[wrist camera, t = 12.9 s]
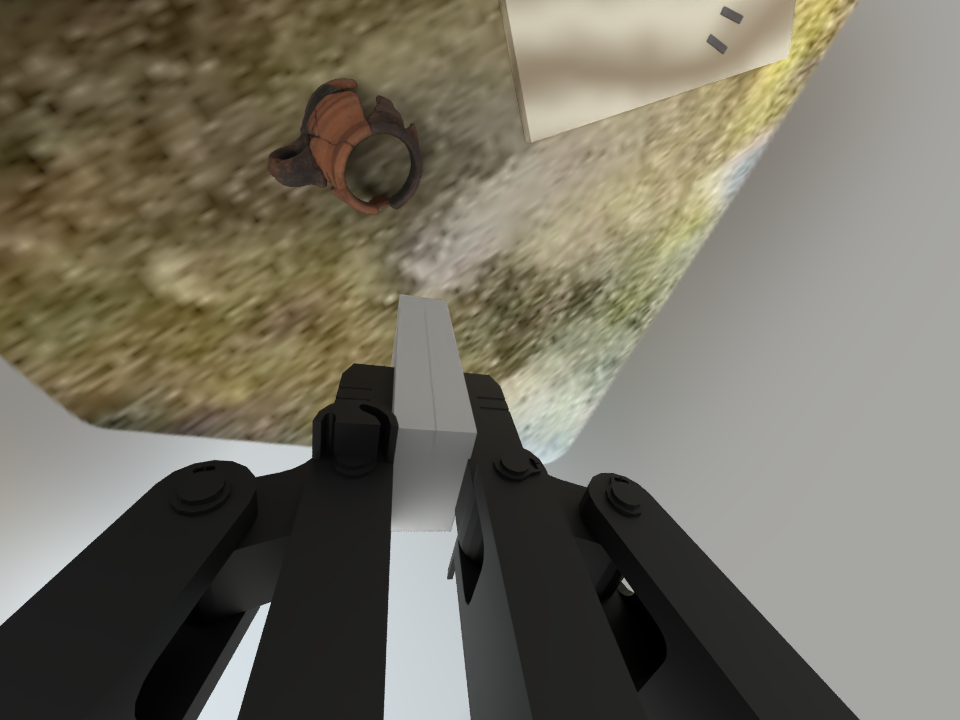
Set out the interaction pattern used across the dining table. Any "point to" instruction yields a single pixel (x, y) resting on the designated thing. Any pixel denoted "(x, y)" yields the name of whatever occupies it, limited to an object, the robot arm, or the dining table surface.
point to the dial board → (631, 52)
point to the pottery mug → (343, 145)
